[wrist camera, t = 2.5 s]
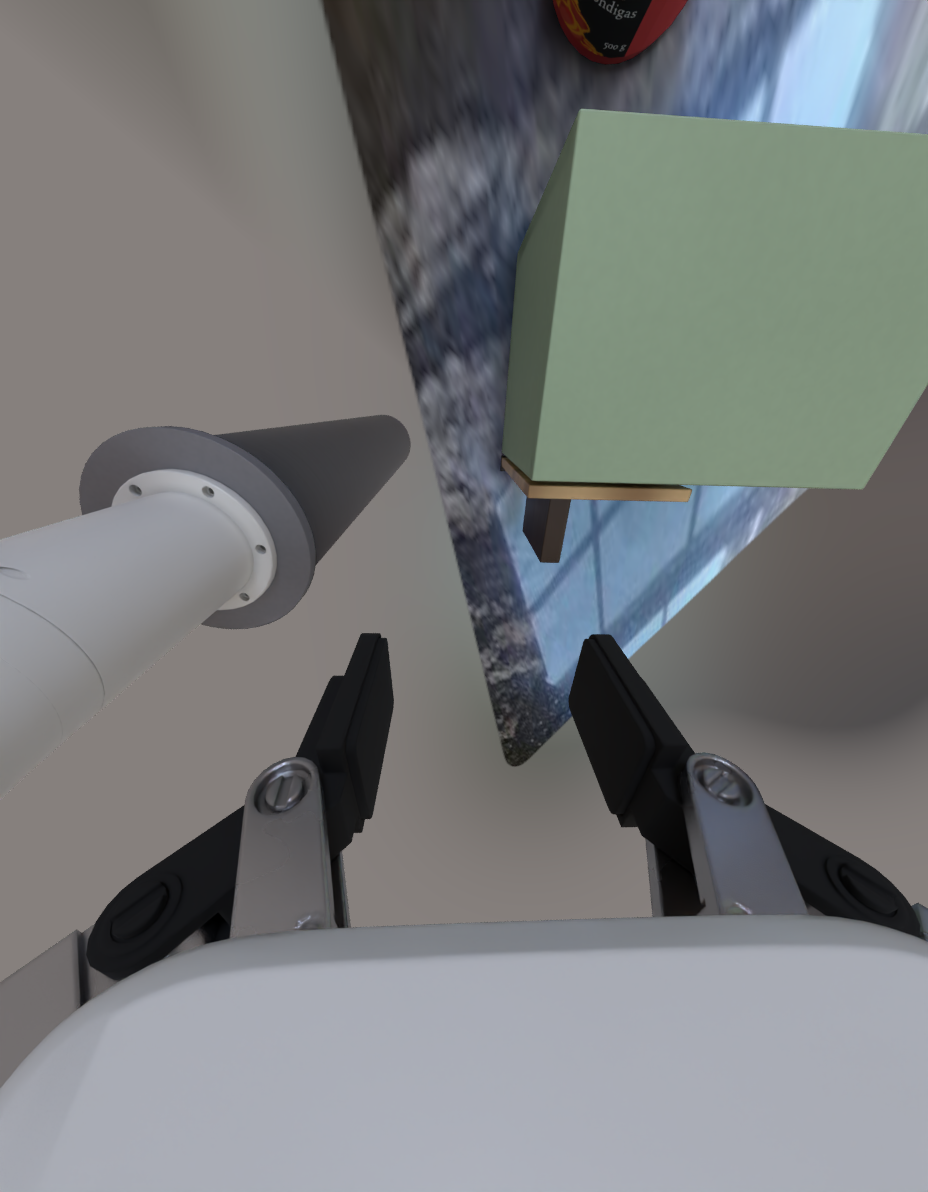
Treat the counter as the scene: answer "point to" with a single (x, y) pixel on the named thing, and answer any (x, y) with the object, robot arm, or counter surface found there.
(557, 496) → the sliding door
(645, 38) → the canned food
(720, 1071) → the robot arm
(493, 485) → the counter surface
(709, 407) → the cupboard
